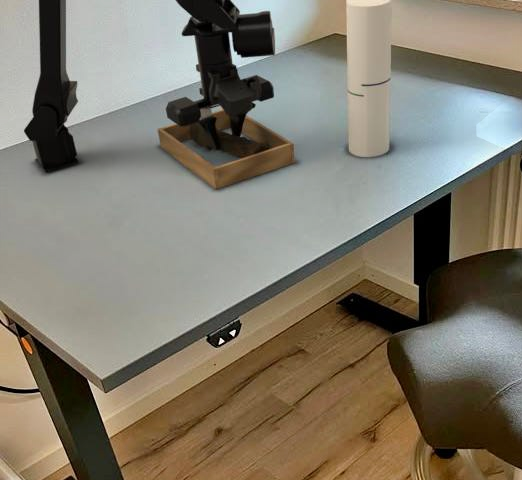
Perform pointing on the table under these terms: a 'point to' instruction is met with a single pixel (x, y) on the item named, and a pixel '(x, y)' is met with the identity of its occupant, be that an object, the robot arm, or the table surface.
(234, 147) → the dark brown long piece
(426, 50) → the table surface
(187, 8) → the robot arm
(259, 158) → the wooden rectangular frame
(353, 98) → the cylindrical container
